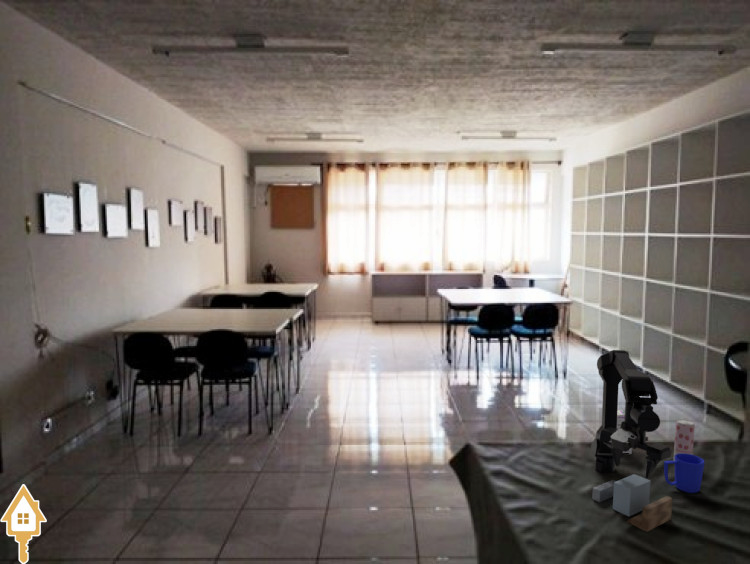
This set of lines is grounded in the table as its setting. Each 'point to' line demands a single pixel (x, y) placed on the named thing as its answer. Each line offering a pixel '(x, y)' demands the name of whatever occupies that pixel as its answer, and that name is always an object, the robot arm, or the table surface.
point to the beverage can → (684, 437)
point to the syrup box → (619, 420)
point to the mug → (686, 472)
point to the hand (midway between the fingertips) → (632, 471)
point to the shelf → (653, 514)
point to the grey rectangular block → (603, 491)
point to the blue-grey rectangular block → (631, 494)
